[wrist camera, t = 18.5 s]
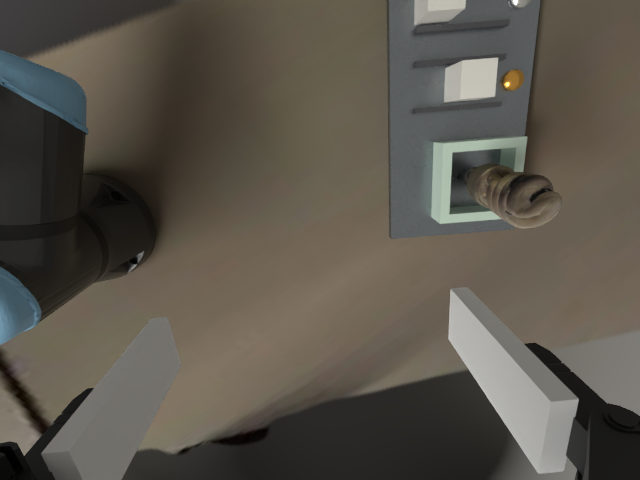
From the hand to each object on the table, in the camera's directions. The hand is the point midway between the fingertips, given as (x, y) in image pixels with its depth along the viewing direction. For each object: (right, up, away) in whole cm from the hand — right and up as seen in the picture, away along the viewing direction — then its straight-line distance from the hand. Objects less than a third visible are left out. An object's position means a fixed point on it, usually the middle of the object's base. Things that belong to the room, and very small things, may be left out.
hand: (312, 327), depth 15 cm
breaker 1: (+14, +32, +24) cm, 42 cm away
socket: (+21, +13, +30) cm, 39 cm away
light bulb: (+21, +13, +30) cm, 39 cm away
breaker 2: (+18, +24, +27) cm, 40 cm away
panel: (+19, +20, +29) cm, 40 cm away
